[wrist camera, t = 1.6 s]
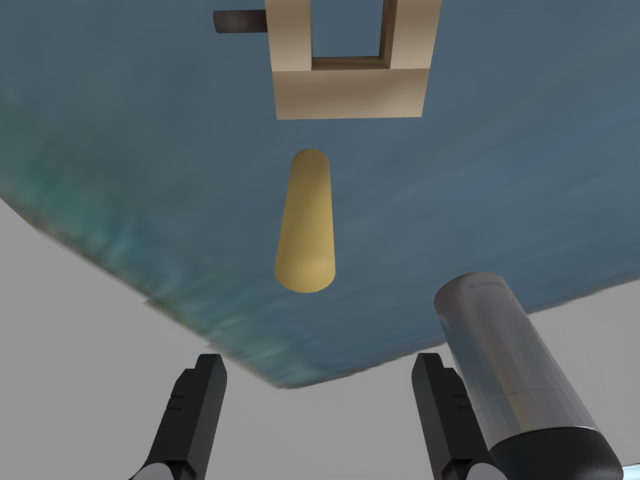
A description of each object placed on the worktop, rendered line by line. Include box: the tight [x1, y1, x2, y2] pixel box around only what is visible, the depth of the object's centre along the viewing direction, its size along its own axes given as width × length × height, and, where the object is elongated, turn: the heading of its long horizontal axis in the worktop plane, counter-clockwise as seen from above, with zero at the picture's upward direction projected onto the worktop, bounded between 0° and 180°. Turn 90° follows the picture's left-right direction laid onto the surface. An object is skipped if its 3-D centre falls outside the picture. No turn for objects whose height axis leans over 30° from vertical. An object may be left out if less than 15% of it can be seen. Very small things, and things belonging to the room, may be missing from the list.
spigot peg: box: [274, 149, 335, 293], centre depth 24 cm, size 4×4×14 cm
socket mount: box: [213, 0, 442, 120], centre depth 20 cm, size 11×14×5 cm
